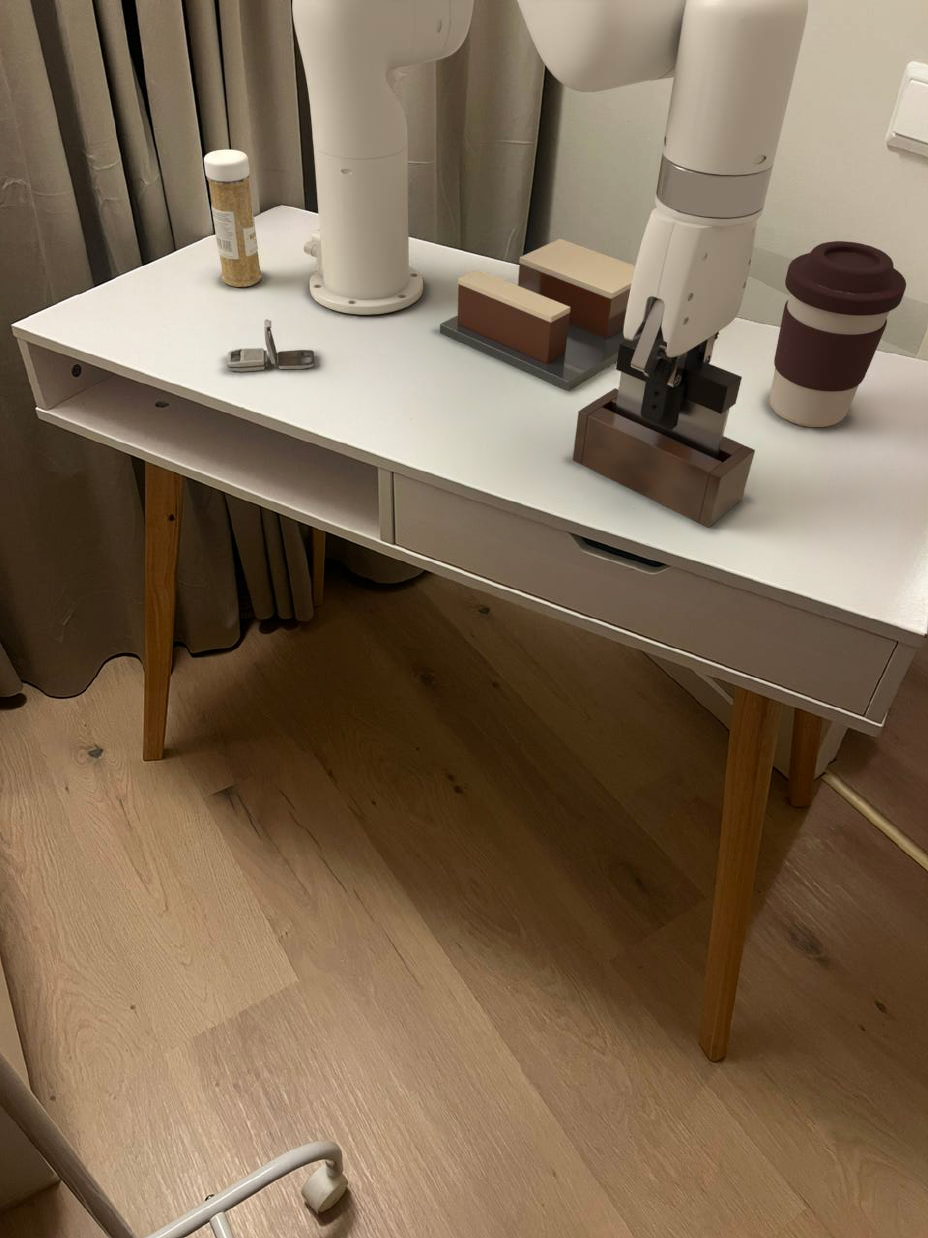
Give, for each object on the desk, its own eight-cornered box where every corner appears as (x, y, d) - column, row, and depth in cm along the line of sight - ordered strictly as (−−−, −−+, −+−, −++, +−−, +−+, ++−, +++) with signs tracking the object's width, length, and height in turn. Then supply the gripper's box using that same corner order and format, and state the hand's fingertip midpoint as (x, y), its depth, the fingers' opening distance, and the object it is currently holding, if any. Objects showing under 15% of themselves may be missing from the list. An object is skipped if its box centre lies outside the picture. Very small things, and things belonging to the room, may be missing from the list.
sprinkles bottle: (269, 282, 112) (254, 157, 103) (231, 291, 110) (213, 165, 101) (251, 267, 115) (236, 144, 105) (214, 276, 113) (196, 151, 104)
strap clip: (227, 372, 97) (221, 332, 94) (228, 357, 99) (222, 317, 96) (315, 368, 98) (311, 329, 95) (314, 353, 100) (310, 314, 97)
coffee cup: (782, 372, 100) (823, 223, 90) (876, 406, 96) (930, 254, 86) (735, 411, 95) (773, 256, 84) (833, 449, 90) (885, 292, 80)
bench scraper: (602, 461, 88) (619, 342, 80) (616, 451, 89) (634, 333, 81) (699, 508, 83) (727, 386, 75) (713, 497, 84) (742, 376, 76)
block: (572, 460, 88) (578, 410, 84) (607, 436, 91) (615, 387, 87) (708, 527, 81) (721, 477, 78) (742, 499, 84) (755, 449, 81)
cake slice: (457, 324, 104) (458, 278, 100) (476, 314, 105) (477, 269, 102) (547, 364, 98) (551, 316, 95) (565, 353, 100) (570, 306, 96)
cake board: (439, 332, 104) (440, 277, 100) (540, 282, 114) (544, 230, 110) (567, 391, 96) (574, 333, 92) (664, 332, 106) (674, 278, 102)
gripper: (725, 145, 75) (682, 364, 88) (600, 200, 66) (572, 436, 79) (815, 170, 72) (757, 395, 84) (696, 232, 63) (651, 474, 75)
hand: (668, 413), depth 81 cm, fingers closed on bench scraper, 2 cm apart
